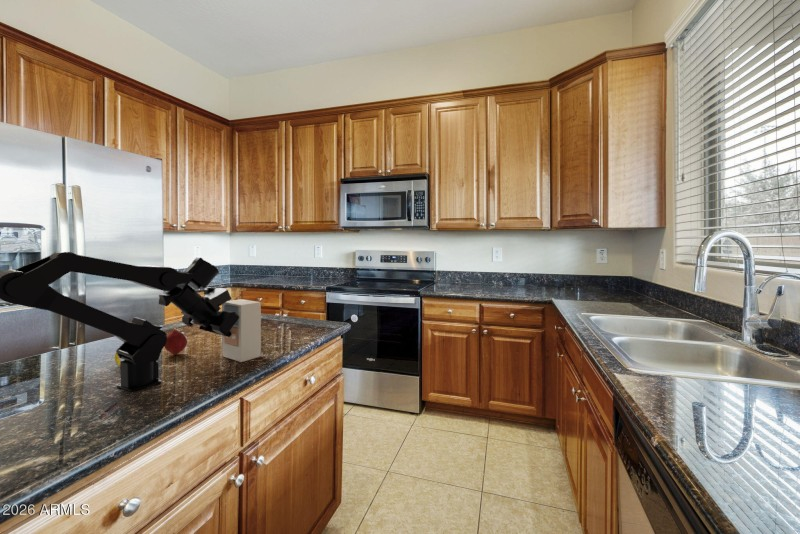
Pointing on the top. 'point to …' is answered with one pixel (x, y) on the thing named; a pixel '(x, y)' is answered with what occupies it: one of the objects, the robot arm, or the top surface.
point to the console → (245, 331)
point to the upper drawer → (231, 308)
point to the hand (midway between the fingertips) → (229, 335)
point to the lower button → (233, 337)
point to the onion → (175, 342)
